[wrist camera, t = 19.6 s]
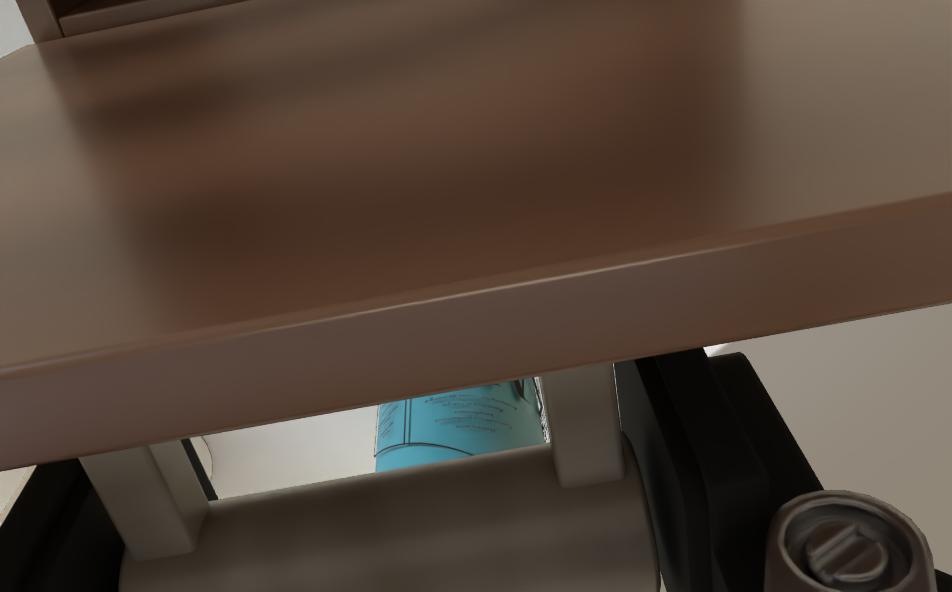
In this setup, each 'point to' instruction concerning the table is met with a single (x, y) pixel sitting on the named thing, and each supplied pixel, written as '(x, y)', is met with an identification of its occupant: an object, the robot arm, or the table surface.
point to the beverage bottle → (459, 424)
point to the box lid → (440, 254)
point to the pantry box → (100, 14)
